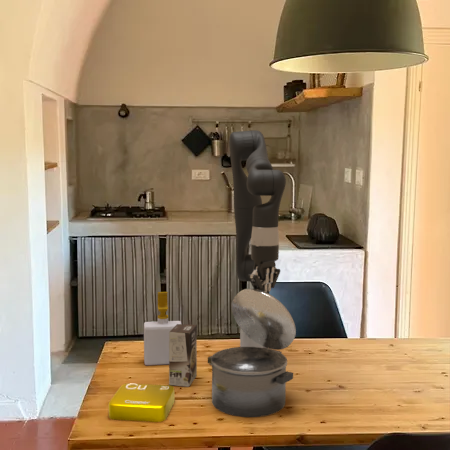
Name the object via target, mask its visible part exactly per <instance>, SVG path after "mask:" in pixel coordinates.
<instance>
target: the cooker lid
mask: <svg viewBox="0 0 450 450" xmlns="http://www.w3.org/2000/svg"><path fill="white" fill-rule="evenodd" d="M231 302H232V303H231V311H232V315H233V318H234V320H235V322H236V324H237V325H238V327H239V328H241V330H242V331H243V332H244V333H245V334H246V335H247V336H248V337H249V338H250V339H252V340H253V341H254V342H256V343H257V344H259V345H261V346H263V347H266V348H268V349H272V350H276V351H281V350H284V349H287V348H288V347H289V346H290V345H291V344H292V343H293V341H294V340H295V337H296V333H297V332H296V331H297V330H296V329H297V328H296V325H295V324H296V323H295V321H294V319H293V316H292V315H291V313H290V312H289V310H288V309H287V307H286V306H285V305H284V303H282V302H281V301H280V300H278V299H277V298H276V297H275V296H273V295H272V294H270V293H269V294H268V293H266V292H264V291H261V290H258V289H253V288H244V289H242V290H240V291H239V292H238V293H237V294H235V296H234V297H233V300H232V301H231Z"/></svg>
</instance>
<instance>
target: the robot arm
mask: <svg viewBox="0 0 450 450" xmlns="http://www.w3.org/2000/svg"><path fill="white" fill-rule="evenodd" d="M228 147H229V155H230V163H231V165H230V166H231V173H232V185H233V188H232V189H233V209H234V210H233V212H234V224H235V237H236V238H235V239H236V242H235V243H236V250H235V251H236V252H235V256H236V257H235V264H236V265H235V266H236V267H235V269H236V276H237V278H238V280H239V281H241V282H250V284H251V286H252V289H258V290H261V291H264V292H266V293H268V294H270V292H271V289H274V288H275V285H276V283H277V281H278V278H279V276H280V274H281V269H280V268H277V267H276V264H277V263H276V261H278V260H279V248H280V244H279V243H280V233H279V232H280V231H279V210H280V205H281V201H282V197H283V194H284V191H285V188H286V185H287V179H286V176H285V173H284V172H283V171H282V170H279V169H274V168H273V166H272V163H271V162H270V161H271V160H269V154H268V149H267V146H266V141H265V136H264V135H263V133H262V131H260V130H257V129H256V130H242V131H241V130H240V131H232V132H231V133H230V135H229V140H228ZM242 161H246V162H245V163H246V164H245V167H246V171H247V174H246V172H245V171H244V168H243V166H242V165H243V164H242ZM264 196H265V197H267V196H268V197H269V196H271V197H270V199H269V200H268V201H267V202H265V203H263V199H262V197H264ZM250 242H251V244H250ZM249 244H250V246H251V247H250V254H249V253H248V249H249ZM239 328H240V327H239ZM239 333H240V334H239V335H240V336H239V340H240V341H239V342H240V343H239V347H259V348H266V347H263V346H261V345H259V344H257V343H256V342H254V341H253V340H252V339H250V338H249V337H248V336H247V335H246V334H245V333H244V332H243V331H242V330H241V328H240V332H239Z"/></svg>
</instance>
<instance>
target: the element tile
mask: <svg viewBox="0 0 450 450" xmlns="http://www.w3.org/2000/svg"><path fill="white" fill-rule="evenodd" d="M174 404H175V387H174V385H169V384H168V385H167V384H151V383H135V382H134V383H133V382H132V383H129V382H127V383H123V384H122V385H120V387H118V389H117V390H116V392H114V394H113V396H112V397H111V398H110V400H109V401H108V418H109V419H110V420H114V421H115V420H116V421H133V422H145V421H146V422H148V421H149V422H150V423H161V422H164V421H166V420H167V418H168V416H169V414H170V412H171V410H172V408H173V406H174ZM149 422H148V423H149Z"/></svg>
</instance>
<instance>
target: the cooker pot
mask: <svg viewBox="0 0 450 450" xmlns="http://www.w3.org/2000/svg"><path fill="white" fill-rule="evenodd" d="M207 364H209V365H210V364H212V365H211V404H212V406H213V407H214V408H215V409H217V410H218V411H219V412H222V413H224V414H227V415H230V416H234V417H241V418H258V417H259V418H260V417H267V416H271V415H274V414H276V413H279V412H280V411H282V410H283V409H284V407H285V406H286V387H287V386H286V384H287V383H288V382H290V381H292V380H293V379H294V372H291V371H287V365H288V359H287V357H286V355H284V354H283V353H282V351H281V350H274V349H269V348H259V347H240V346H236V347H230V348H225V349H221V350H218V351H216V352H215V353H213V354H212V355H210V356H208V357H207Z"/></svg>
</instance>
